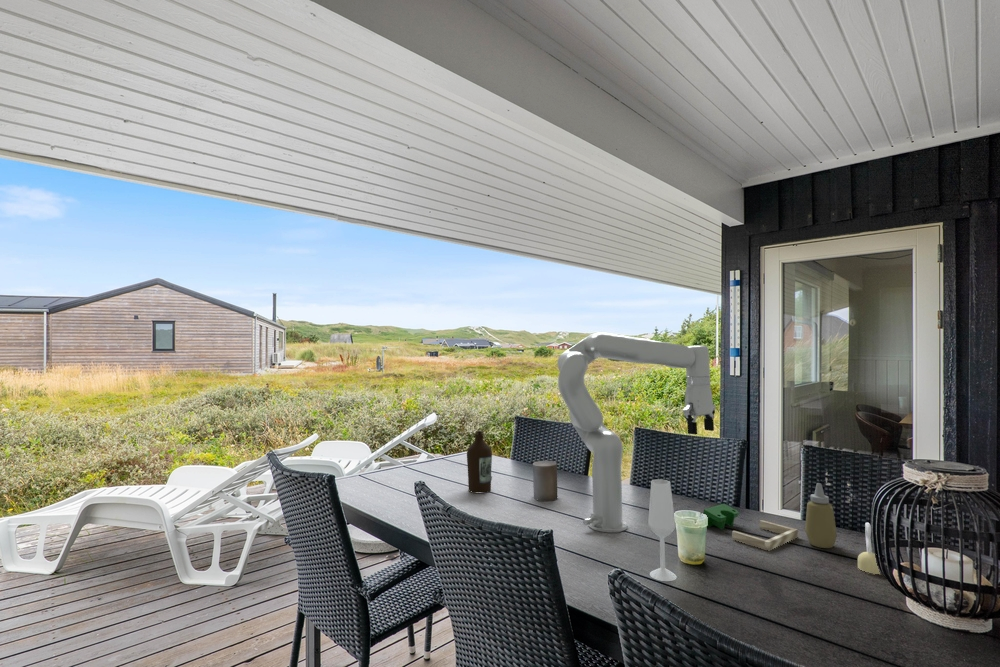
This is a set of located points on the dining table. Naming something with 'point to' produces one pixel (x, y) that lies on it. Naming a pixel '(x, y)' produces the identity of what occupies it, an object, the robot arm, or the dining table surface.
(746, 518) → the dining table surface
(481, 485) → the olive oil
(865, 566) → the pale yellow handled piece
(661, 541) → the champagne flute
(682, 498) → the dining table surface
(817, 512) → the squeeze bottle
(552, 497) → the pillar candle
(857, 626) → the dining table surface
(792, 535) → the keeper bracket
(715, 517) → the clamp
